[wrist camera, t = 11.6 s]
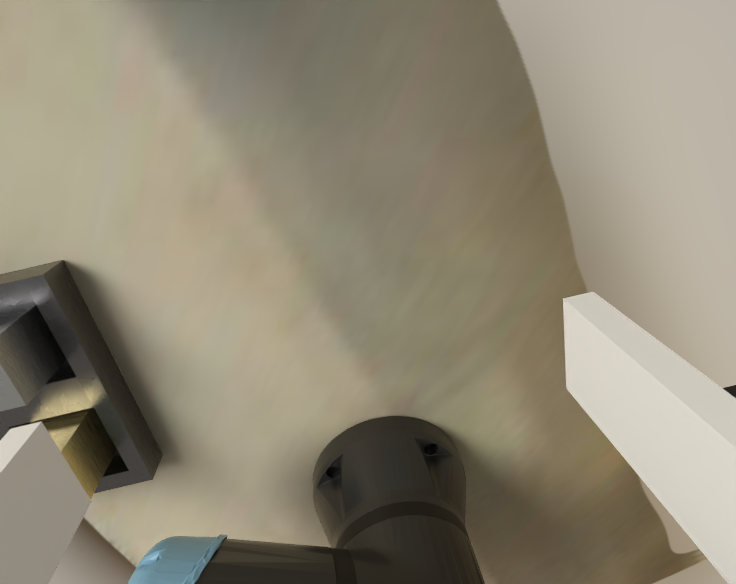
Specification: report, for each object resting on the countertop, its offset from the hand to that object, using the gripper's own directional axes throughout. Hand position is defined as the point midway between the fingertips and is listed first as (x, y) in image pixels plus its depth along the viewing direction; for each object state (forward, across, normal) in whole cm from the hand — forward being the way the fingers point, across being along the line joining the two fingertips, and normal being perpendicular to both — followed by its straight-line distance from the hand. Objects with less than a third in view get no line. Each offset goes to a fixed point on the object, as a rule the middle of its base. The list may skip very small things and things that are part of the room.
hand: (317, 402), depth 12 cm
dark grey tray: (+27, +25, +11) cm, 38 cm away
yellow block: (+26, +25, +16) cm, 40 cm away
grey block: (+26, +25, +6) cm, 37 cm away
